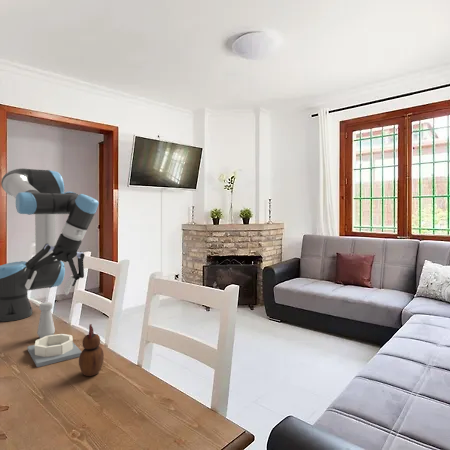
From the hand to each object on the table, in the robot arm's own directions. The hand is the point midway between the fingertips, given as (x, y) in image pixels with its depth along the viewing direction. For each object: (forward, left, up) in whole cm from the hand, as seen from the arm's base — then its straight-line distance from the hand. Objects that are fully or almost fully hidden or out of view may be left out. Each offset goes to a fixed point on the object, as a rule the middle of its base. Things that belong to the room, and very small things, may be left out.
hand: (47, 290), depth 121 cm
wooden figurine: (+14, +31, -18) cm, 39 cm away
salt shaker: (-2, -3, -18) cm, 19 cm away
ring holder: (+7, +10, -17) cm, 21 cm away
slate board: (+7, +10, -18) cm, 22 cm away
